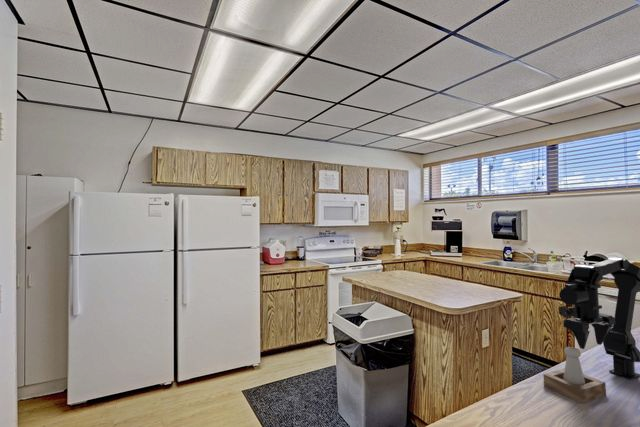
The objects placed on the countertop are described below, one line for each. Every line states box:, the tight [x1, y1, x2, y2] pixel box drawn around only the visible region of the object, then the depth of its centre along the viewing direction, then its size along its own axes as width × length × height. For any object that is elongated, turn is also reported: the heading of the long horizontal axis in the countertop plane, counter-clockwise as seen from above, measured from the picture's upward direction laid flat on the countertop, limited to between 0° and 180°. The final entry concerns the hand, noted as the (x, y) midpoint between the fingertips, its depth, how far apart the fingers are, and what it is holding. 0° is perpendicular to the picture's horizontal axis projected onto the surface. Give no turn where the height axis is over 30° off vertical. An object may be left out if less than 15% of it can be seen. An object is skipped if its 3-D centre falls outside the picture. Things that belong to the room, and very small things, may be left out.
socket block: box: [542, 367, 607, 404], centre depth 109 cm, size 12×12×4 cm
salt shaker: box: [564, 346, 585, 386], centre depth 109 cm, size 6×6×13 cm
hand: (590, 346), depth 113 cm, fingers open, 9 cm apart
